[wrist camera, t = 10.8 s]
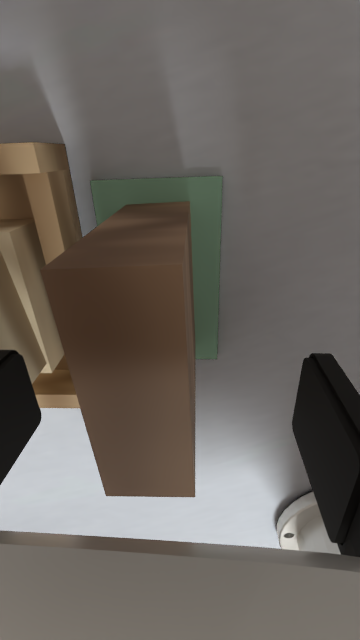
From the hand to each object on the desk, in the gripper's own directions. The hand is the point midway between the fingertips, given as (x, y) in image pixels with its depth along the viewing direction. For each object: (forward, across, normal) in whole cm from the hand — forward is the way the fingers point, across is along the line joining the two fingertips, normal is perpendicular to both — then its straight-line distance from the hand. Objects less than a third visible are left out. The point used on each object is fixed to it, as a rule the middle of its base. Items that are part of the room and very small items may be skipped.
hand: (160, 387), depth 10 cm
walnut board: (+7, +1, -1) cm, 7 cm away
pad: (+7, +1, -1) cm, 8 cm away
